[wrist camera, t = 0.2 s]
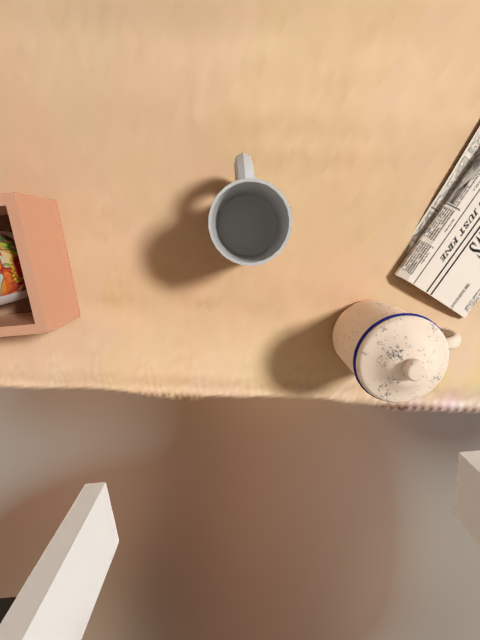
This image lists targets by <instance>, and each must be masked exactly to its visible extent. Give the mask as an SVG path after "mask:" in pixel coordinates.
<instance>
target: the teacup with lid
mask: <svg viewBox="0 0 480 640" xmlns="http://www.w3.org/2000/svg"><path fill="white" fill-rule="evenodd" d="M332 339H333V345H334V348H335V351H336V353H337V354H338V356H339V357H340V358H341V359H342V361H343V362H344V363H345V364H346V365H347V366H348V368H349V369H350V370H351V371H352V372H353V374H354V375H355V376H356V379H357V381H358V383H359V384H360V386H361V387H362V388H363V389H364V390H365V391H366V392H367V393H369V394H370V395H371V396H373V397H375V398H377V399H380V400H383V401H387V402H395V403H399V402H408V401H412V400H415V399H418V398H420V397H422V396H424V395H425V394H427V393H428V392H430V391H431V390H432V389H433V388H434V387H435V386H436V385H437V384H438V383H439V382H440V380H441V379H442V377H443V375H444V374H445V371H446V369H447V366H448V361H449V350H451V349H454V348H456V347H458V346H459V345H460V342H461V337H460V335H459V334H458V333H457V332H455V331H452V330H449V329H445V328H439V327H438V326H437V325H436V324H435V323H434V322H432V321H431V320H429V319H428V318H426V317H423V316H421V315H417V314H412V313H408V312H406V311H404V310H401V309H399V308H397V307H395V306H393V305H390V304H388V303H386V302H383V301H379V300H364V301H360V302H357V303H355V304H353V305H351V306H350V307H348V308H347V309H346V310H345V311H344V312H343V313H342V314H341V315H340V316H339V318H338V319H337V321H336V323H335V326H334V329H333V335H332Z"/></svg>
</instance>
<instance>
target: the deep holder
mask: <svg viewBox="0 0 480 640" xmlns="http://www.w3.org/2000/svg"><path fill="white" fill-rule="evenodd" d="M0 215H8V216H9V220H10V224H11V228H12V232H13V236H14V240H15V244H16V248H17V252H18V256H19V260H20V264H21V268H22V272H23V276H24V281H25V285H26V289H27V293H28V297H29V301H30V305H31V309H32V312H25V313H13V314H1V315H0V337H6V336H18V335H30V334H42V333H49V332H51V331H53V330H55V329H57V328H59V327H60V326H62V325H64V324H66V323H68V322H70V321H72V320H74V319H76V318H78V317H80V311H79V307H78V302H77V297H76V292H75V288H74V283H73V278H72V273H71V268H70V264H69V259H68V254H67V249H66V245H65V240H64V235H63V230H62V226H61V221H60V216H59V211H58V207H57V202H56V201H55V200H50V199H45V198H39V197H34V196H29V195H24V194H19V193H4V194H0Z"/></svg>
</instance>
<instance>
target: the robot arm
mask: <svg viewBox="0 0 480 640" xmlns="http://www.w3.org/2000/svg"><path fill="white" fill-rule="evenodd" d="M454 515H455V516H456V517H457V518H458V520H459V521H460V522H461V524H462V525H463V526H464V527H465V529H466V530H467V531H468V532H469V534H470V535H471V536H472V538H473V539H474V540H475V542H476V543H477V544H478V545H479V547H480V451H470V452H459V459H458V470H457V482H456V493H455V505H454ZM118 543H119V538H118V534H117V529H116V525H115V521H114V516H113V512H112V508H111V504H110V499H109V494H108V491H107V486H106V482H103V483H91V484H85V485H84V487H83V489H82V490H81V492H80V494H79V495H78V497H77V499H76V500H75V502H74V504H73V506H72V507H71V508H70V510H69V512H68V513H67V515H66V517H65V519H64V520H63V522H62V523H61V525H60V527H59V528H58V530H57V531H56V533H55V535H54V537H53V538H52V540H51V541H50V543H49V545H48V546H47V548H46V550H45V551H44V553H43V554H42V556H41V558H40V559H39V561H38V563H37V564H36V566H35V568H34V569H33V571H32V573H31V574H30V576H29V577H28V579H27V581H26V583H25V584H24V586H23V587H22V589H21V591H20V592H19V594H18V596H17V597H11V598H1V599H0V640H81V639H82V636H83V634H84V631H85V629H86V626H87V623H88V621H89V618H90V616H91V613H92V610H93V608H94V605H95V603H96V600H97V597H98V595H99V592H100V590H101V587H102V584H103V582H104V579H105V577H106V574H107V571H108V569H109V566H110V564H111V561H112V558H113V556H114V553H115V551H116V548H117V545H118Z"/></svg>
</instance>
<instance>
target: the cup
mask: <svg viewBox="0 0 480 640" xmlns="http://www.w3.org/2000/svg"><path fill="white" fill-rule="evenodd" d="M234 169H235V181H234V182H232V183H231V184H229V185H227V186H225V187H224V188H223V189H222V190H221V191H220V192H219V193H218V194H217V196H216V198H215V199H214V201H213V203H212V205H211V208H210V212H209V216H208V229H209V233H210V237H211V240H212V241H213V243H214V245H215V247H216V249H217V250H218V251H219V252H220V253H221V254H222V255H223V256H224V257H225V258H227V259H229V260H230V261H232V262H234V263H237V264H240V265H246V266H255V265H259V264H263V263H266V262H268V261H270V260H271V259H273V258H275V257H276V256H277V255H278V254H279V253H280V252H281V251H282V250H283V248H284V247H285V245H286V244H287V242H288V240H289V237H290V234H291V231H292V214H291V209H290V206H289V204H288V202H287V200H286V198H285V196H284V195H283V194H282V193H281V192H280V190H279V189H278V188H276V187H275V186H273V185H272V184H271V183H269V182H267V181H264V180H261V179H256V178H255V174H254V166H253V162H252V159H251V157H250V155H248V154H246V153H243V152H242V153H241V154H239V155H238V156H236V159H235V162H234Z"/></svg>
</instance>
